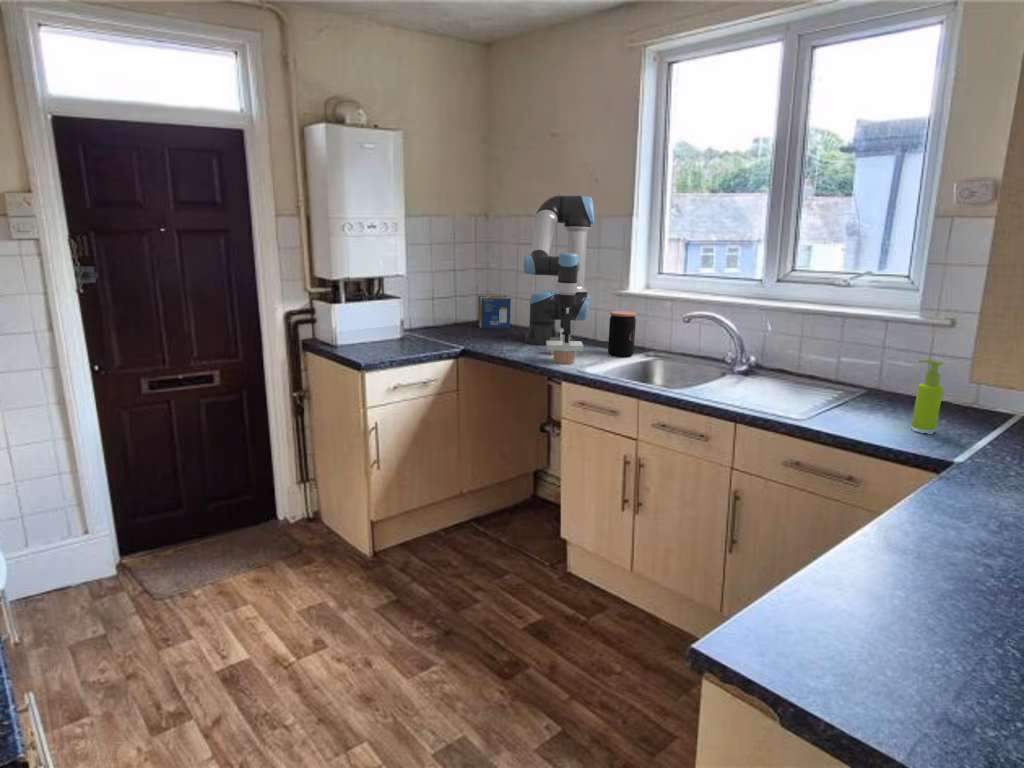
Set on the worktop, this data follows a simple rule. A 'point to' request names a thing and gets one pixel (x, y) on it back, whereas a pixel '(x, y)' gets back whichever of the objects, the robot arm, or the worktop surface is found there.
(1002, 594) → the worktop surface
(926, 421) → the soap dispenser
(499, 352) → the worktop surface
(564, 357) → the terracotta faceted pot
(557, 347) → the lid
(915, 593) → the worktop surface
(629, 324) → the coffee jar
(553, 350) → the riser
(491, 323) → the protein box
